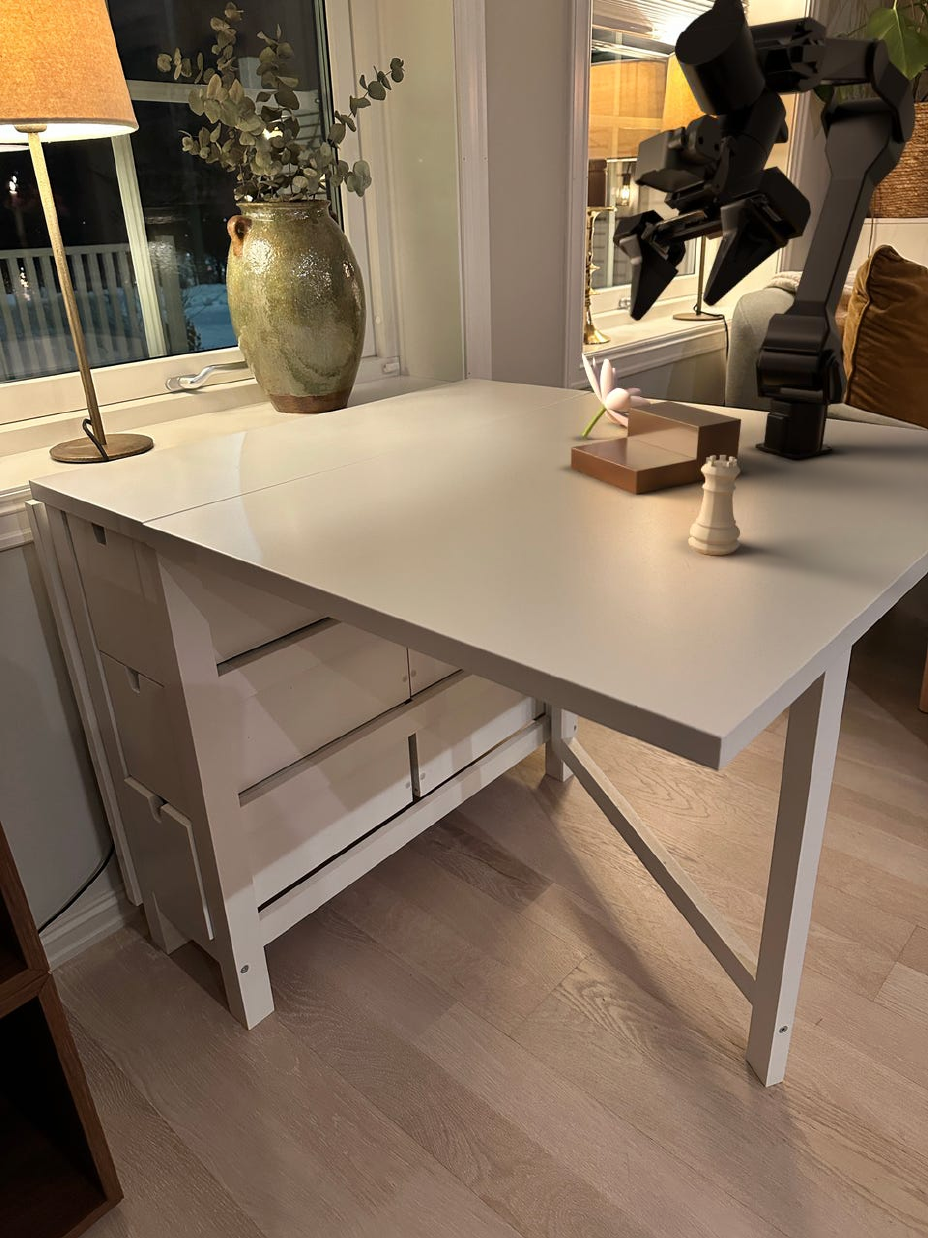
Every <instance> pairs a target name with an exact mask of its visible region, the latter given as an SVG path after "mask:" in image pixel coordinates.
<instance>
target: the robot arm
mask: <svg viewBox="0 0 928 1238" xmlns="http://www.w3.org/2000/svg"><path fill="white" fill-rule="evenodd" d="M827 29H828V28H827V26H826V25H825V24H823V23H822V22H821V21H818V20H817V19H815V18H814V17H812V16H804V17H798V18H791V19H785V20H778V21H772V22H767V23H760V24H755V25H754V24H753V25H750V24H749V23H748V20H747V17H746V14H745V9H744V5H743V2H742V0H714V2H713V4H712V7H711V8H710V9H708V10H707V11H705V12H703V13H701V14H700V15H699V16H698V17H696V18H695V19H694V20H693V21H691V22H690V23H689V24H688V26H687V27H686V28H685V29H684V30H683V31H681V32H680V33H679V35H678V37H677V38H676V42H675V45H674V55H675V58H676V60H677V63H678V64H679V65H678V66H679V67H680V69H681V71H682V73H683V75H684V78H685V80H686V82H687V85H688V86H689V89H690V91H691V93H692V95H693V97H694V99H695V102H696V103H697V106H698V108H699V110H700V112H701V113H703V115H701V116H699V117H697V118H695V119H692V120H691V121H690V122H689V123H688V125H687V127H686V126H684V125H681V126H680V127H676V128H674V129H672V128H671V129H666V130H663V131H661V132H659V133H657V134H655V135H652V136H650V137H648V138H646V139H643V140H642V141H640V142H639V143H638V146H637V147H638V148H637V155H636V156H637V157H636V164H635V165H636V166H635V172H634V179H633V181H634V184H635V185H636V186H640V187H644V186H645V187H648V188H650V189H653V190H656V191H658V192H662V193H666V195H665V198H664V199H663V203H664V204H665V205H666V206H668V207H669V208H670V209H671V210H676V211H678V213H677V215H676V216H672V217H670V218H667V219H665V218H664V217H662V216H661V215H660V214H659V213H658V212H657V211H656V210H655V209H650V210H647V211H642V212H640V213H637V214H635V215H634V214H633V215H632V216H629V217H626V218H622V219H621V220H619V222H618V224H617V226H616V229H615V231H614V233H613V235H612V243H613V244H614V245H615V246H616V247H617V248H619V249H620V251H621V252H623V254H625V255H626V256H627V257H628V258H629V261H630V264H631V280H630V281H631V284H630V300H629V313H628V314H629V316H630V318H631V319H633V320H634V321H636V322H639V321H641V320H642V319H643V317H644V316H645V315H646V314H647V313H649V311H650V309H651V308H652V307H653V305H654V304H655V303H656V302H657V301H658V299H659V298H660V297H661V295H662V294H663V292H664V291H665V290H666V289H667V288H668V286H669V285H670V284H671V283H672V282H673V280H674V279H675V278H676V276H677V275H678V274H679V272H680V270H679V269H678V268H677V267H678V266H679V265H680V264H681V263H682V262H683V260H684V258H685V255H686V253H687V247H686V242H688V241H692V240H694V239H698V238H702V237H706V239H707V240H708V241H711V240H715V239H718V238H721V240H720V243H719V247H718V249H717V252H716V254H715V256H714V257H715V258H714V260H713V264H712V267H711V269H710V272H709V275H708V278H707V281H706V283H705V287H704V292H703V295H702V302H703V303H705V304H706V305H707V306H708V307H713V306H715V305H716V304H718V302H720V301H721V300H722V299H723V298H724V297H725V296H726V295H727V294H728V293H729V292H730V291H731V290H733V289H734V288H735V287H736V286H737V285H738V284H739V283H741V282H742V281H744V279H745V278H746V277H747V276H749V275H750V274H751V273H752V272H753V271H755V269H756V268H758V267H759V266H760V265H762V264H763V263H764V262H765V261H767V260H768V259H769V258H770V257H771V256H773V255H774V254H775V253H776V252H777V251H779V250H781V249H783V248H786V247H787V246H788V245H789V242H790V240H793V239H797V238H801V237H803V235H804V233H805V231H806V228H807V226H808V223H809V221H810V218H811V216H812V209H811V201H810V200H809V199H808V198H807V197H806V195H805V194H804V193H803V192H802V191H801V190H800V189H799V188H798V187H797V185H795V184H794V182H792V180H790V179H789V177H788V176H787V175H786V174H785V173H784V172H783V170H781V169H780V168H779V167H778V166H777V165H775V166H772V167H767V168H765V167H766V166H767V163H768V160H769V158H770V155H771V153H772V151H773V148H774V146H775V145H778V144H779V145H780V144H786V143H788V141H789V135H790V134H789V132H790V131H789V127H788V124H787V121H786V117H787V110H786V107H785V106H786V105H785V104H784V101H783V99H782V97H781V96H789V95H799V94H804V93H807V92H810V91H811V90H814V89H815V88H818V87H820V85H827V87H828V91H829V93H828V95H827V98H826V100H825V103H824V105H823V107H822V110H821V112H820V115H819V116H820V117H819V118H820V122H821V126H822V129H823V133H824V137H825V145H824V154H825V157H826V160H827V163H828V167H829V170H830V174H831V176H830V181H829V184H828V187H827V191H826V194H825V196H824V200H823V203H822V206H821V210H820V213H819V216H818V220H817V224H816V227H815V229H814V233H813V236H812V240H811V243H810V246H809V249H808V252H807V256H806V259H805V262H804V266H803V269H802V271H801V275H800V278H799V282H798V285H797V288H796V292H795V295H794V298H793V301H792V304H791V306H789V307H788V308H787V309H786V310H785V311H784V312H783V313H780V312H779V313H777V312H776V313H774V314H773V315H772V316H771V318H769V321H768V325H767V328H766V333H765V335H764V339H763V341H762V344H761V345H760V348H759V349H758V350H759V351H758V353H757V355H756V360H755V374H756V390H757V392H756V393H757V398H758V399H764V398H765V399H770V402H769V411H768V413H767V414H766V423H765V431H764V440H763V442H758V443H755V445H754V449H756V450H760V451H764V452H767V453H771V454H774V455H778V456H781V457H785V458H787V459H792V460H799V459H804V458H809V457H813V456H818V455H823V454H828V453H831V452H834V447H833V446H831V445H826V444H824V439H825V432H826V426H827V425H826V424H827V418H828V410H829V406H831V405H841V404H843V401H844V398H845V395H846V394H847V386H848V383H849V380H848V377H847V373H846V370H845V366H844V363H843V360H842V356H841V349H842V345H843V342H842V338H841V334H840V330H839V328H838V327H839V326H838V323H837V320H836V314H837V311H838V307H839V304H840V302H841V298H842V294H843V291H844V289H845V285H846V283H847V278H848V276H849V272H850V269H851V266H852V263H853V259H854V256H855V253H856V250H857V246H858V243H859V240H860V237H861V233H862V231H863V227H864V224H865V220H866V218H867V214H868V211H869V208H870V205H871V202H872V198H873V195H874V192H875V189H876V187H878V186H879V185H880V184H881V183H882V182H883V181H884V180H885V179H886V178H887V177H888V176H889V175H890V174H891V173H892V172H893V171H894V170H895V169H896V168H897V167H898V166H899V163H900V161H901V158H902V155H903V152H904V150H905V149H906V148H905V147H906V146H907V143H909V142H910V141H911V139H912V136H913V134H914V131H915V125H916V117H917V116H916V107H915V100H914V94H913V87H912V83H911V81H910V79H909V78H908V77H907V76H906V75H905V74H904V73H903V72H902V71H901V70H900V69H899V68H898V67H897V66H896V65H895V64H894V63H893V62H892V61H891V59H890V55H889V50H888V44H887V42H886V40H885V39H883V38H882V39H879V38H878V37H877V36H874V37H867V38H854V37H844V36H831V35H827ZM869 84H870V87H871V89H872V92H873V93H875V94H876V97H865V98H856V99H845V100H844V101H843V102H841V103H840V98H839V94H838V89H839V87H841V88H842V87H849V86H858V85H859V86H860V85H869Z"/></svg>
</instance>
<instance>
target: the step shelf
mask: <svg viewBox="0 0 928 1238" xmlns="http://www.w3.org/2000/svg"><path fill="white" fill-rule="evenodd" d="M627 414H628V427H627V434H626V435H627V436H626V437H622V438H620V437H619V438H616V439H610V440H605V441H598V442H593V443H587V444H581V445H577V446H572V447H571V448H570V449H571V452H570V459H571V460H570V469H571V470H574V471H577V472H579V473H581V474H585V475H586V476H590V477H592V478H594V479H597V480H599V481H601V482H604V483H607V484H609V485H612V486H614V487H616V488H620V489H622V490H624V491H627V492H628V493H629V492H630V493H632V494H635V495H639V494H642V493H648V492H653V491H657V490H662V489H666V488H671V487H676V486H681V485H685V484H690V483H695V482H700V481H706V478H705V476H704V474H703V473H702V471H701V468H702V467H703V466H704V465H705V464H706V458H707V457H709V458H710V456H713V455H715V456H716V460H720V455H726V461H729V457H731V456H732V457H735V459H737V460H738V456H739V445H740V437H741V436H740V435H741V428H742V427H741V426H742V419H741V418H738V417H734V416H730V415H726V414H722V413H718V412H713V411H710V410H706V409H702V408H698V407H695V406H691V405H687V404H682V403H678V402H674V401H670V400H666V401H661V402H654V403H651V404H647V405H641V406H635V407H629V412H628V413H627Z"/></svg>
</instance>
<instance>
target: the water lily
mask: <svg viewBox="0 0 928 1238" xmlns="http://www.w3.org/2000/svg"><path fill="white" fill-rule="evenodd" d="M581 357H582V362H583V367H584V370H585V373H586V376H587V378H588V381H589V384H590V386H591V388H592V389H593V391H594V393H595V395H596V396H597V399H598V400H599V402H600V403H601V404H602V408H601V409H600V410H599V412H598V413H596V415H595V416H594V418H593V419H592V420H591V421H590V423H589V424H588V425H587V427H586V428H585V430H584V431H583V433H582V435H581V437H582V438H583V439H584V440H585V439H587V437H588V436H589V434H590V432H592V429H593V428H594V426H595V425H596V424H597V423H598V421H599V420H600V419H601V417H602V416H603V414H605V415H606V417H607V418H608V419H609V421H611V422H612V423H613V424H616V425H617V426H618V425H619V426H621V425H623V426H625V428H628V412H629V407H635V406H641V405H647V404H652V403H651V401H649V400H647V399H646V398H643V397H641V393H642V391H641V388H639V387H638V388H636V387H629V388H626V389H623V388H620V386H619V378H618V373H617V370H616V368H615V367H612V364H611V363H610V361H609V359H608V358H606V359H604V361H603V364H602V368H601V371H600V369H599V366H598V364H597V361H596V358H595V357H594V356H593V359H592V363H593V366H592V365H591V364H590V362H589V360H588V358H586V356H585V355H584V353H581Z"/></svg>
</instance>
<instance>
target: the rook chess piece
mask: <svg viewBox="0 0 928 1238" xmlns="http://www.w3.org/2000/svg"><path fill="white" fill-rule="evenodd" d="M701 471H702V473H703V474H704V476H705V478H706V479H705V480H704V481H705V482H704V483H703V484H702V485H701V487H702V489H703V498H702V503H701V508H700V512H699V515H698V516H697V517H696V518H695V522H693V524H692V525H691V527H690V530H689V534H690V535H691V537H689V538H688V541H687V543H688V544H689V546H690V547H691V549H692V550H693V551H695V552H697V553H699V554H703V555H711V556H724V555H729V554H732V553H734V552H735V551H736V550H737V549H738V548H739V547H740V544H741V542H740V541H739V540H738V538H740V536H741V531H740V528H739V527H738V526H737V520H736V519H735V516H734V503H733V498H734V492H735V491H736V489H737V487H736V485H735V482H734V481H735V479H736V477H738V475H739V474H740V473H741V469H740V467H739V466H738V458H737V459H735V457H732V456H731V457H729V461H726V455H720V460H716V456H715V455H713V456H710V458H709V457H707V458H706V464H705V465H704V466H703V467H702V468H701Z"/></svg>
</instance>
